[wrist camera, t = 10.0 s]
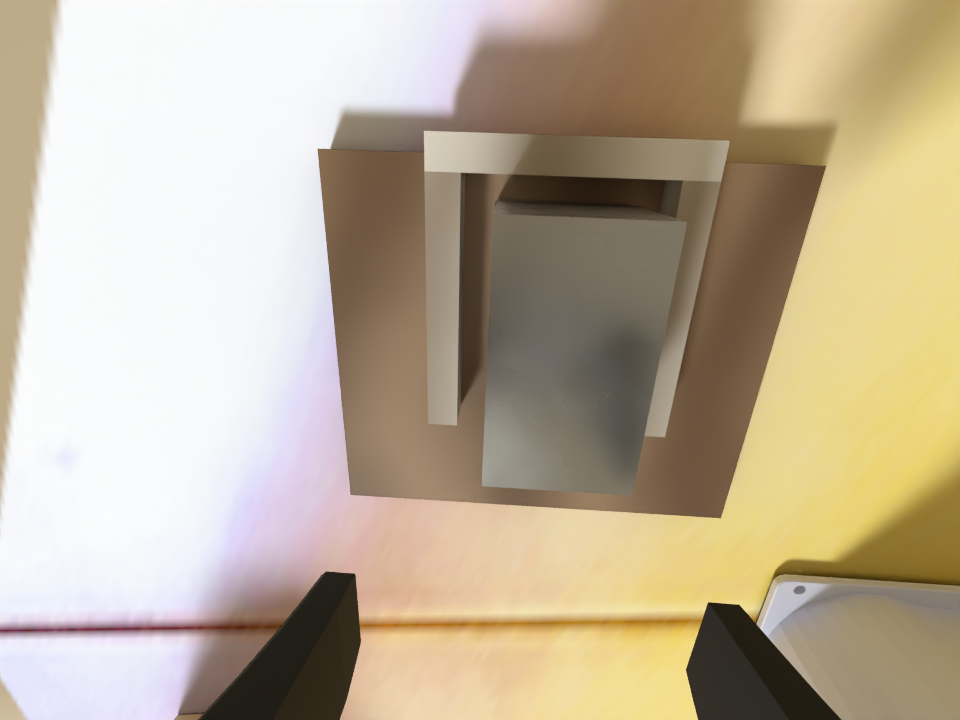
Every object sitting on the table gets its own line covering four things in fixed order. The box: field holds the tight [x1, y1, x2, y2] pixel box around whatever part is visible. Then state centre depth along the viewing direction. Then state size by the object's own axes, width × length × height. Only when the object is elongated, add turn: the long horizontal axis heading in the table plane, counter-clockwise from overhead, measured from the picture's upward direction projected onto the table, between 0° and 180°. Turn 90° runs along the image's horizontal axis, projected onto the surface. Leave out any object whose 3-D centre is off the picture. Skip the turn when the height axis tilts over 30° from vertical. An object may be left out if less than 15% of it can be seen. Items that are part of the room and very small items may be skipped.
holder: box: [318, 131, 826, 518], centre depth 16 cm, size 15×14×2 cm
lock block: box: [482, 198, 687, 496], centre depth 13 cm, size 4×7×5 cm, turn 178°
